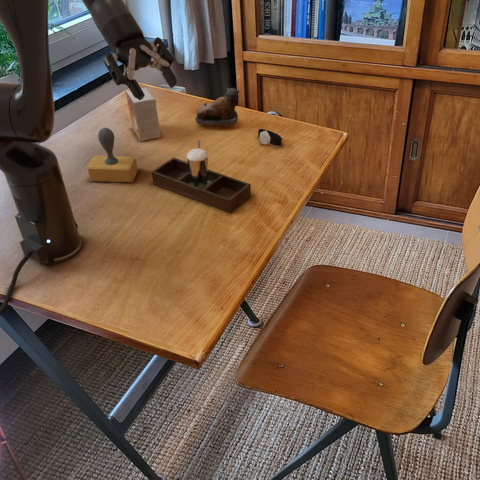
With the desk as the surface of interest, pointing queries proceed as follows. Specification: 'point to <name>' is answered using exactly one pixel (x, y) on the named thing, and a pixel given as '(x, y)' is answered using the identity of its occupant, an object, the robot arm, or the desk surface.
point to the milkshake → (198, 166)
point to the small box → (144, 115)
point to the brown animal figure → (219, 110)
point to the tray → (215, 193)
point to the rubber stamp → (111, 162)
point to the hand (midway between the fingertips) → (158, 91)
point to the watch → (269, 137)
